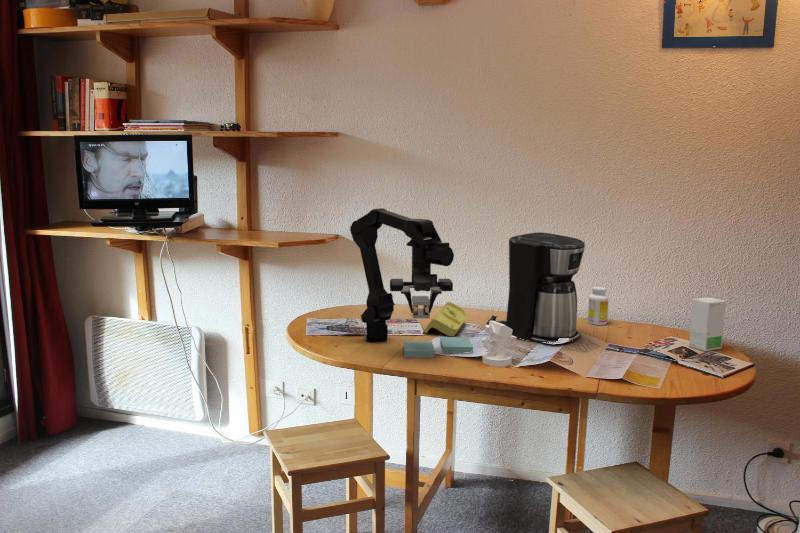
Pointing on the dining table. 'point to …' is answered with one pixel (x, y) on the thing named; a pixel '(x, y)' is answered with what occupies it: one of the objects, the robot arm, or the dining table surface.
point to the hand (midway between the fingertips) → (420, 312)
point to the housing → (425, 302)
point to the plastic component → (448, 319)
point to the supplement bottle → (598, 306)
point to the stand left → (418, 349)
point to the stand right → (456, 345)
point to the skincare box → (707, 323)
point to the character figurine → (497, 345)
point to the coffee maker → (543, 287)
